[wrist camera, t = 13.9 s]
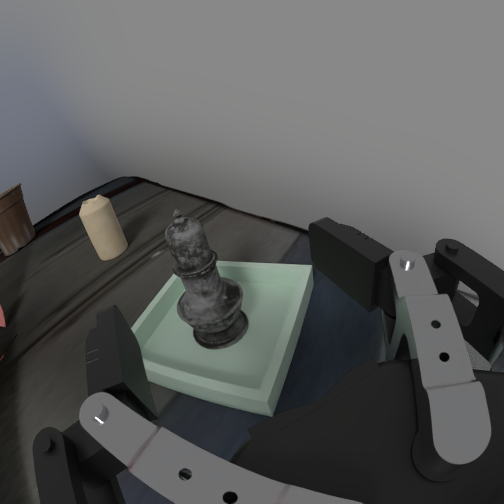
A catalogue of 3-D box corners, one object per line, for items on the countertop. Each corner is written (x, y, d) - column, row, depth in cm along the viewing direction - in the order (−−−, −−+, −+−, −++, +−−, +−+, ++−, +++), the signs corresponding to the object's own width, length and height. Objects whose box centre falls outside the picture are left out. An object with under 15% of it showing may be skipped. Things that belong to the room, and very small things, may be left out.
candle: (128, 238, 48) (107, 187, 43) (128, 252, 44) (104, 196, 38) (101, 250, 47) (78, 200, 41) (99, 265, 42) (72, 210, 37)
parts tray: (123, 371, 24) (110, 355, 23) (192, 275, 35) (185, 259, 34) (272, 416, 18) (266, 402, 17) (313, 284, 29) (312, 265, 28)
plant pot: (15, 239, 71) (-4, 196, 62) (49, 223, 72) (29, 176, 63) (-7, 266, 57) (-32, 218, 48) (27, 251, 58) (1, 196, 49)
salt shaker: (180, 326, 27) (129, 216, 21) (230, 296, 30) (195, 186, 23) (208, 363, 23) (149, 241, 16) (264, 327, 25) (232, 201, 19)
